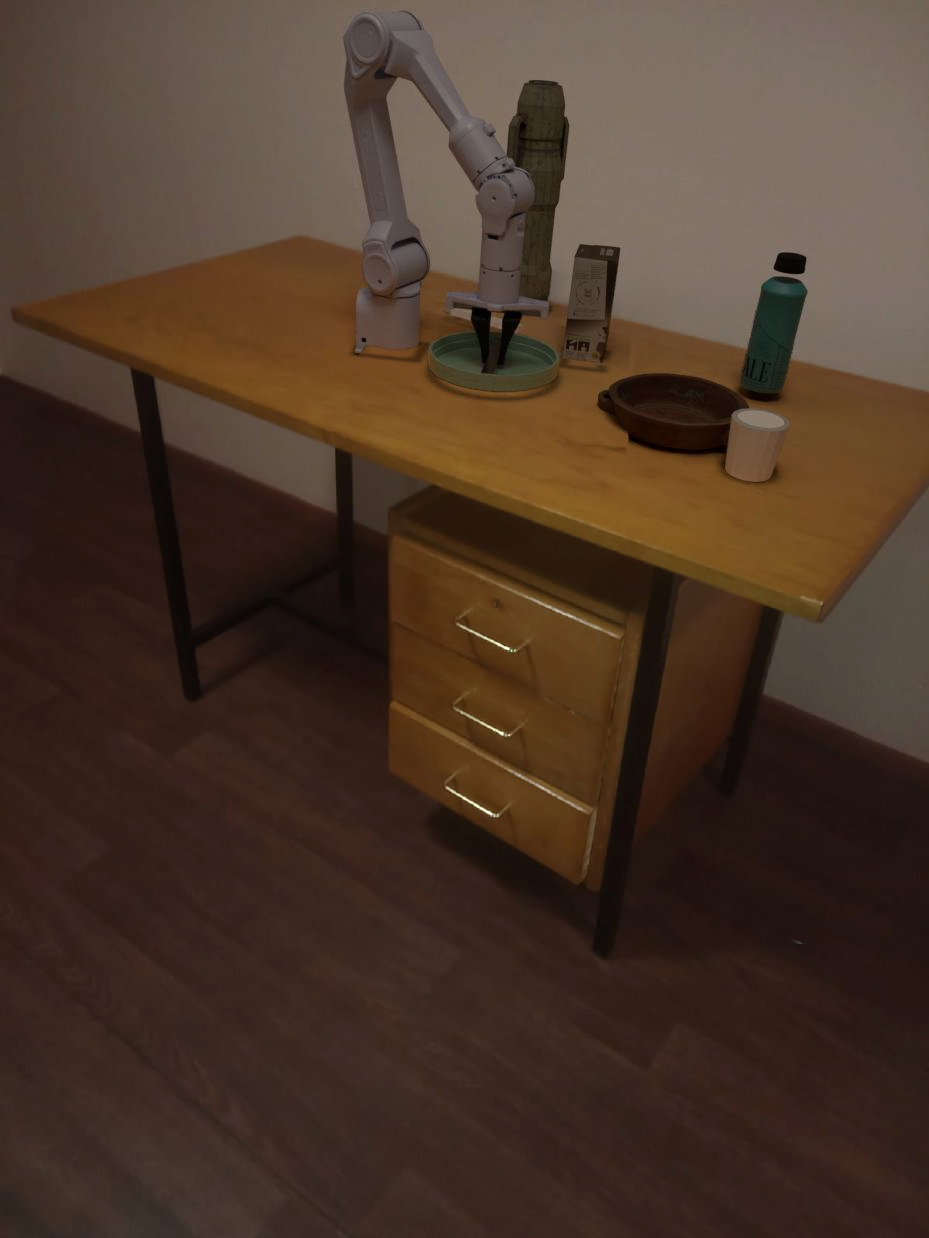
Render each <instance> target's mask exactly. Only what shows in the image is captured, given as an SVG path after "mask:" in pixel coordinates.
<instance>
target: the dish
mask: <svg viewBox="0 0 929 1238" xmlns="http://www.w3.org/2000/svg"><path fill="white" fill-rule="evenodd" d="M597 405H598V407H599V408H600V409H602V410H603V411H606V412H608V413H610V414H612V415H614V416H615V417H616V420H617V423H618V424H619V426H621V428H623V429H624V430H625V431H627V432H628V434H630V435H631V436H633V437H634V438H637V439H639V440H642V441H643V442H647V443H651V444H653V445H657V446H661V447H666V448H670V449H671V448H672V449H677V450H691V451H697V450H709V449H714V448H718V447H720V446H725V447H728V440H729V432H730V425H731V417H732V414H733V413H734V412H735V411H737V410H740V409H748V408H750V406H749V403H748V402H747V400H746V399H744V397H743V396H742V395H741V394H740V393H738V392H737V391H734V390H732V389H731V388H729V387H727V386H726V385H723V384H720V383H717V382H716V381H712V380H709V379H706V378H703V377H699V376H694V375H686V374H680V373H678V374H677V373H667V372H651V373H650V372H649V373H640V374H636V375H630V376H627V377H624V378H621V379H619V380H616V381H615V382H614V383H612V384H611V385H609V388H608V389H604V390H601V391H600V392H599V393H598V394H597Z"/></svg>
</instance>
